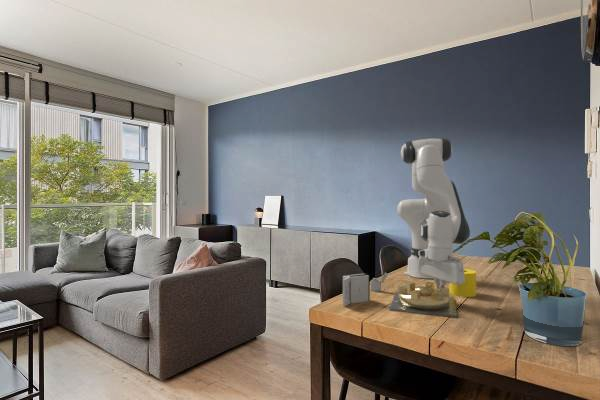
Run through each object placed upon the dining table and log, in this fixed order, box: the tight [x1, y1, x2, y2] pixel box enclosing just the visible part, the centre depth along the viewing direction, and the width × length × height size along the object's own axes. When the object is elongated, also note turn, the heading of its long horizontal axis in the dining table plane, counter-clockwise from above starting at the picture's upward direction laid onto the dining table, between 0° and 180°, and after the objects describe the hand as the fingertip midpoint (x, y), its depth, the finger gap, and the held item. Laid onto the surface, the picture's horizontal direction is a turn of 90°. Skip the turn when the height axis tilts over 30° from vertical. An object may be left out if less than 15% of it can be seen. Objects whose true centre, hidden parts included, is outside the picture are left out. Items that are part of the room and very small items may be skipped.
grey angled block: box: [370, 272, 388, 292], centre depth 149 cm, size 7×2×8 cm, turn 68°
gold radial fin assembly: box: [397, 280, 450, 310], centre depth 130 cm, size 18×18×6 cm
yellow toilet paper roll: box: [449, 268, 477, 298], centre depth 144 cm, size 10×10×9 cm
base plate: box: [389, 291, 458, 319], centre depth 130 cm, size 22×22×1 cm
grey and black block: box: [342, 273, 371, 308], centre depth 134 cm, size 14×5×10 cm, turn 124°
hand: (439, 290), depth 132 cm, fingers closed
